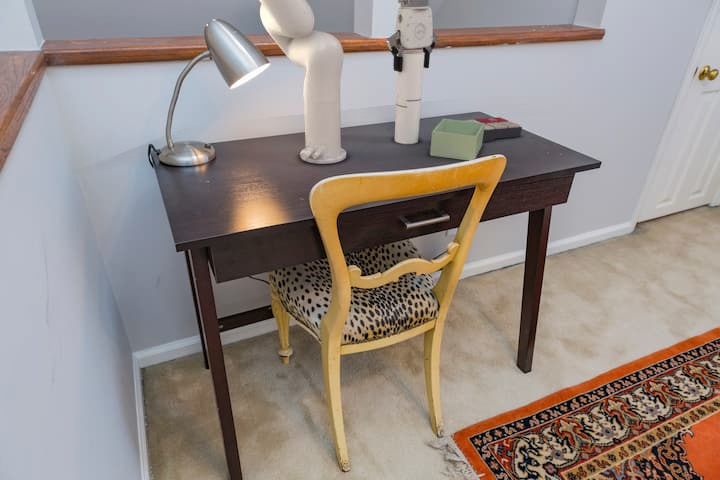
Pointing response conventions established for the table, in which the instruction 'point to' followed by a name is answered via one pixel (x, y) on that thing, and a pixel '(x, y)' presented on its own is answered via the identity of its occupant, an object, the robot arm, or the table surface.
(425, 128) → the table surface
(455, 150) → the tote
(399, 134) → the cylindrical container
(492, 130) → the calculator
